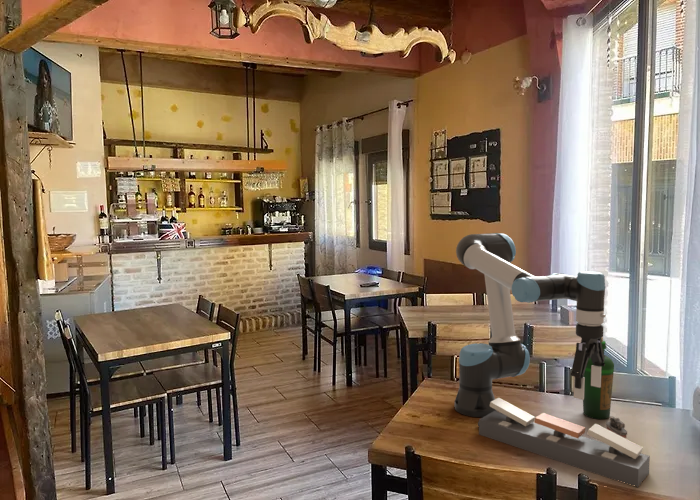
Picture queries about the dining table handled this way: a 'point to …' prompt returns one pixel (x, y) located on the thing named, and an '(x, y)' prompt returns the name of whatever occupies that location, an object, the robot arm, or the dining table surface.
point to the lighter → (616, 426)
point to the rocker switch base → (566, 448)
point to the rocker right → (615, 441)
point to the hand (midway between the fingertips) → (587, 392)
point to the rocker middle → (560, 425)
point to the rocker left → (512, 411)
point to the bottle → (598, 389)
